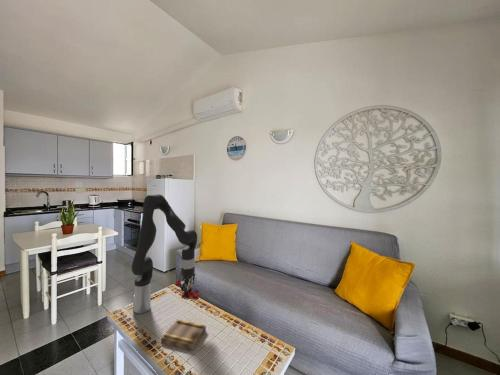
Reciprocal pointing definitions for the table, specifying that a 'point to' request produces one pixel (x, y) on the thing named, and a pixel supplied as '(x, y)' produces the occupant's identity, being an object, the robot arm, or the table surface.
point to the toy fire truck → (189, 292)
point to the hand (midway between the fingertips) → (187, 295)
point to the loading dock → (183, 334)
